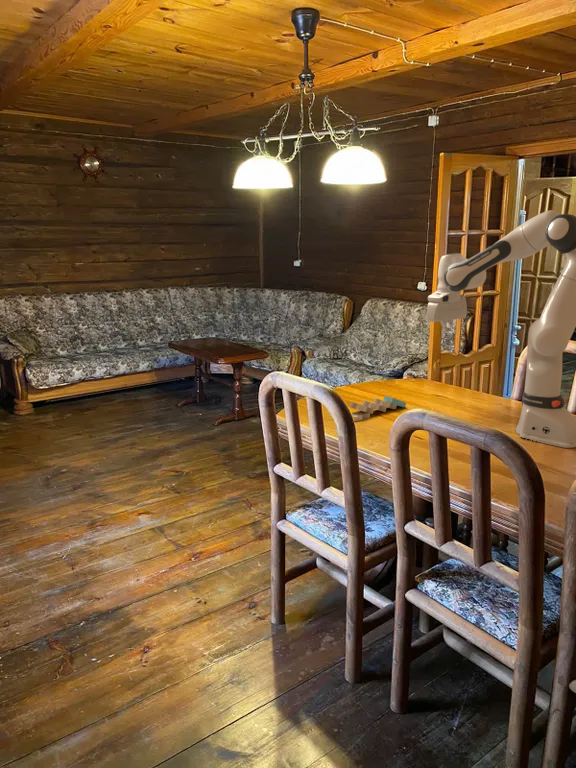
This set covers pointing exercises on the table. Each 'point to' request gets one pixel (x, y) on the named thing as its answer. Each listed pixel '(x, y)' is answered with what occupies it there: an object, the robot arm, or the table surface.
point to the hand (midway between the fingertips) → (446, 331)
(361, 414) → the domino
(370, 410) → the domino
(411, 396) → the table surface
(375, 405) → the domino
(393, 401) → the domino
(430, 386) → the table surface
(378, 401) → the domino
